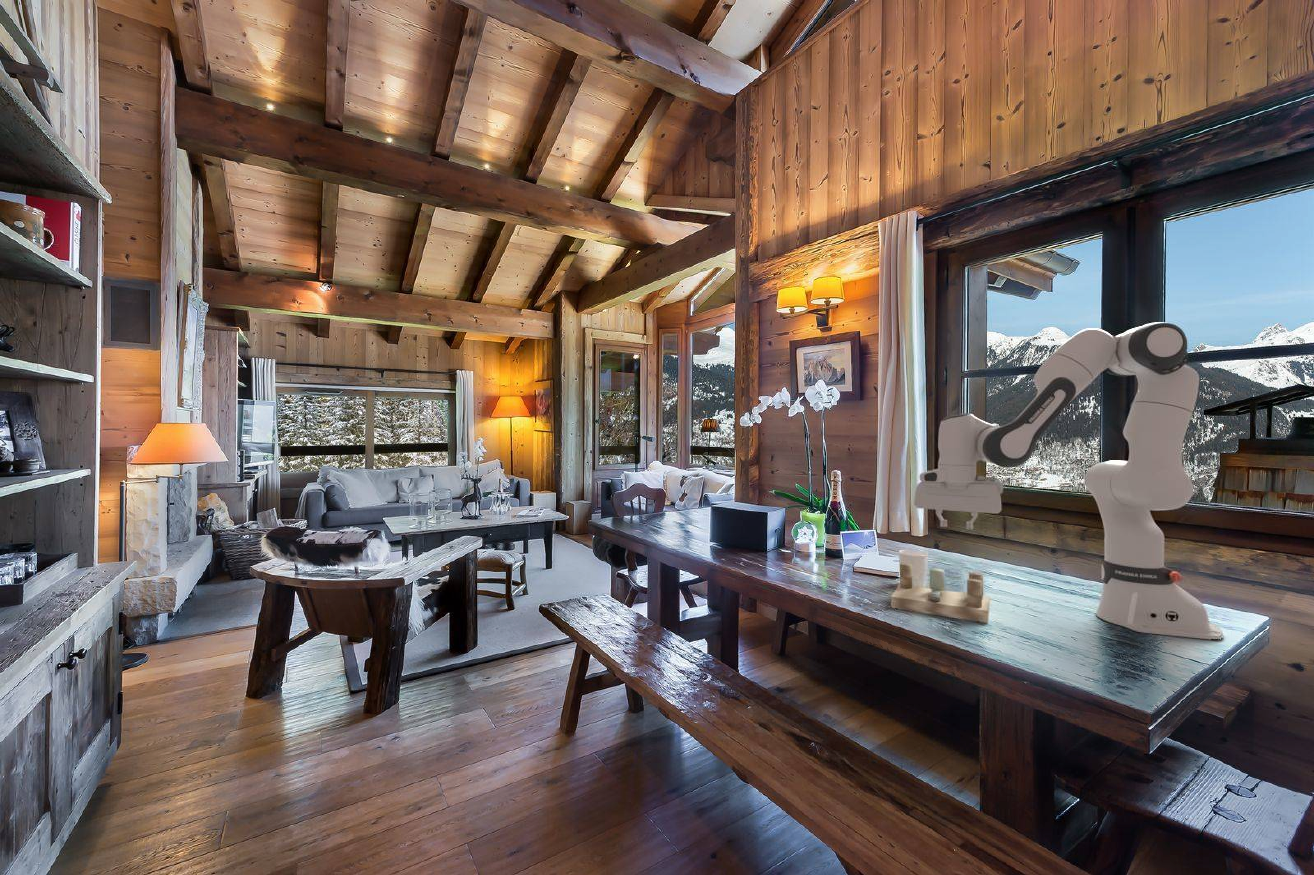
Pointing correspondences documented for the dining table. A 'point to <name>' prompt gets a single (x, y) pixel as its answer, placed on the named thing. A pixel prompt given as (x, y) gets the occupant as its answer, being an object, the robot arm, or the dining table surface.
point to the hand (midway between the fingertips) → (956, 527)
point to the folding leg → (936, 583)
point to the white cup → (915, 565)
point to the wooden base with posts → (942, 598)
